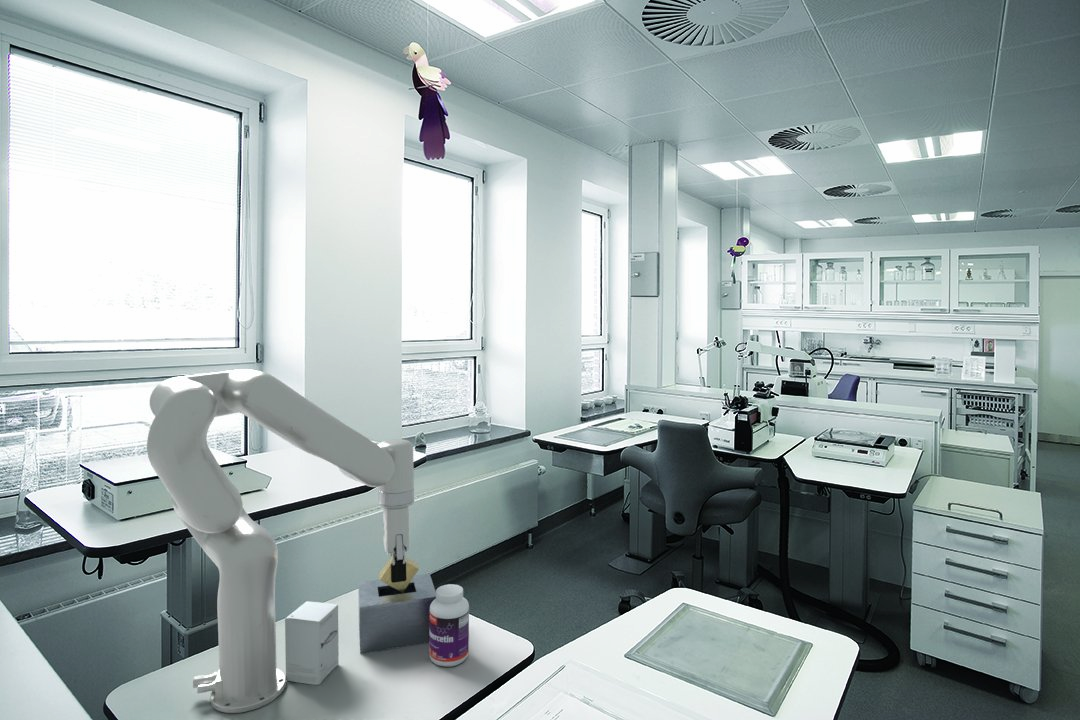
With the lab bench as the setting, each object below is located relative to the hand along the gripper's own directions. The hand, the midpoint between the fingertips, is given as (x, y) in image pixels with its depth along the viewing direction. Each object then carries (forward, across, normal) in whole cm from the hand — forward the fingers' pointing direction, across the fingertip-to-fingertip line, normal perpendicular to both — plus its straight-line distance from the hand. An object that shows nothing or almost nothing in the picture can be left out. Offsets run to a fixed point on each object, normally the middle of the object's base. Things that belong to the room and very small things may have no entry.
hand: (398, 577), depth 131 cm
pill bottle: (+13, +13, +9) cm, 20 cm away
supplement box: (+13, +10, -18) cm, 24 cm away
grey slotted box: (+13, 0, 0) cm, 13 cm away
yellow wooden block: (0, 0, +3) cm, 3 cm away
